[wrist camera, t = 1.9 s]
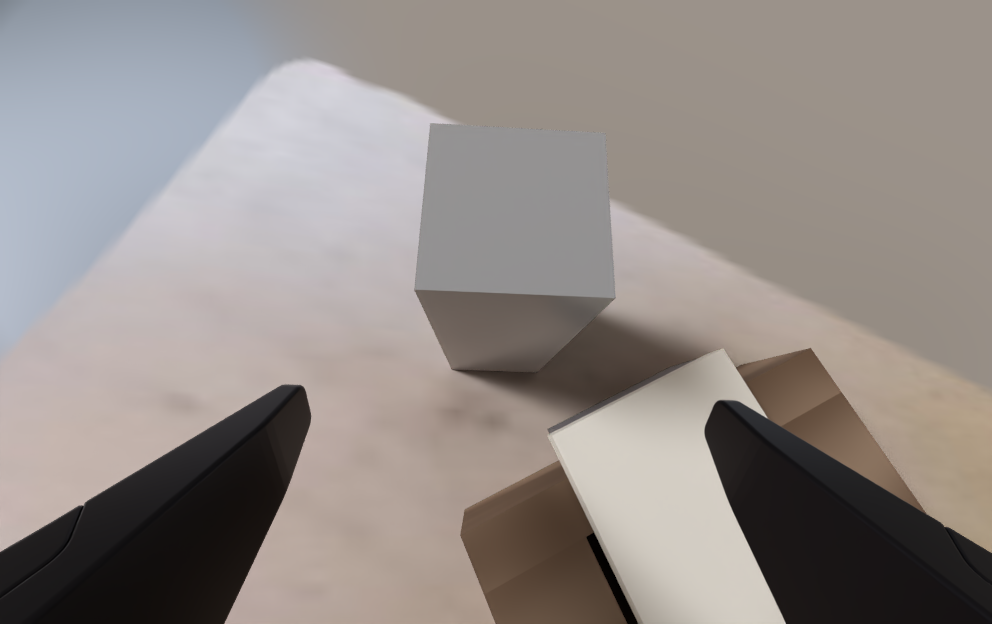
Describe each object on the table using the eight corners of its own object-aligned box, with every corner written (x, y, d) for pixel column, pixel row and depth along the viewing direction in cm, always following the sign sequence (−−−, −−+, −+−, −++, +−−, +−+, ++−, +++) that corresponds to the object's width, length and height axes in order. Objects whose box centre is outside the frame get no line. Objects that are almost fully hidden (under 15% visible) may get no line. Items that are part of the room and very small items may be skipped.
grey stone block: (537, 372, 20) (615, 297, 9) (451, 369, 20) (414, 289, 8) (537, 292, 21) (605, 132, 10) (456, 288, 21) (430, 123, 10)
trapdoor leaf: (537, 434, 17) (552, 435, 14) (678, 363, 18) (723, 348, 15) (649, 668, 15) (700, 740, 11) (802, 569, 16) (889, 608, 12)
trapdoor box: (950, 691, 17) (1113, 781, 12) (638, 932, 14) (707, 1152, 10) (741, 364, 21) (810, 348, 16) (464, 509, 18) (460, 535, 14)
